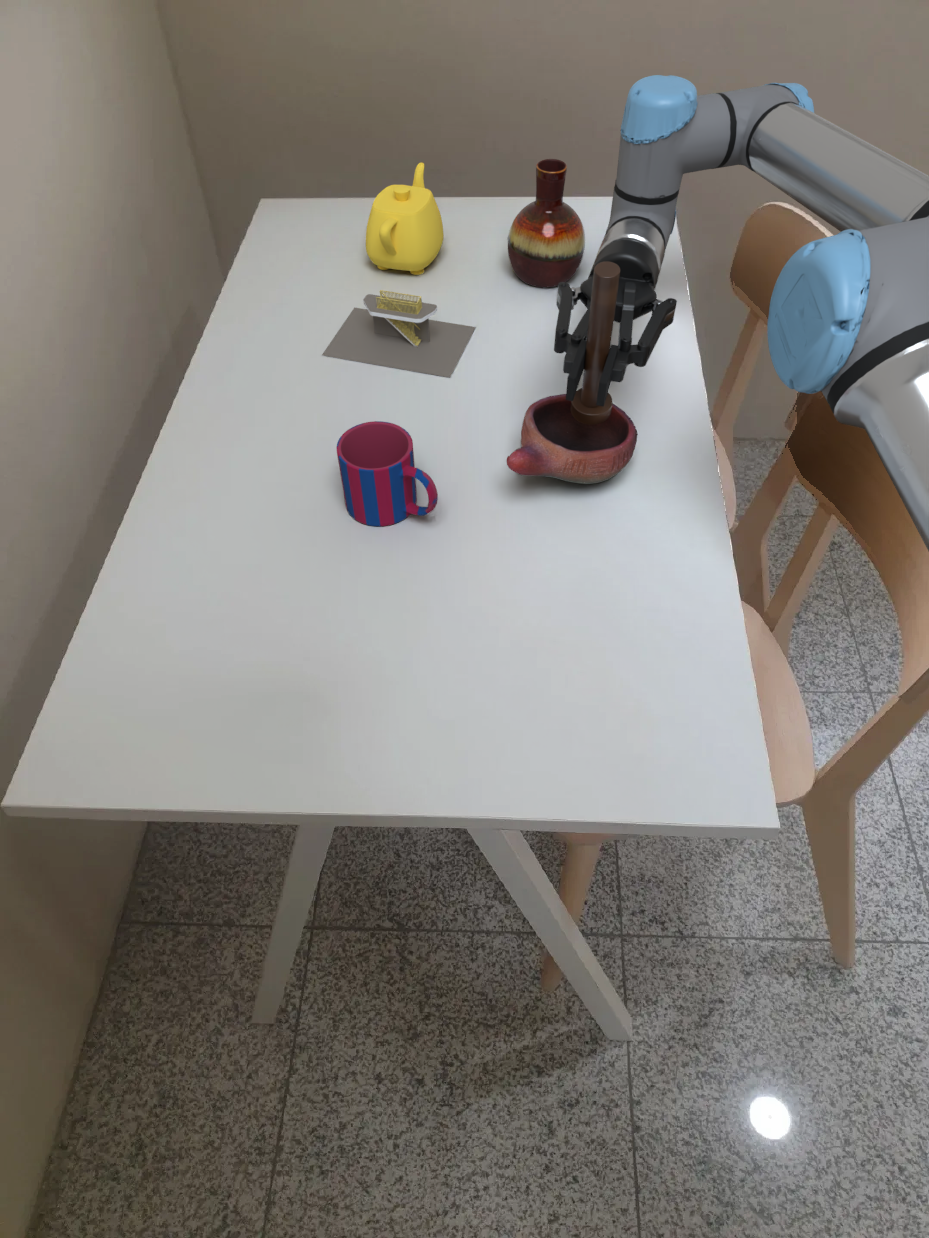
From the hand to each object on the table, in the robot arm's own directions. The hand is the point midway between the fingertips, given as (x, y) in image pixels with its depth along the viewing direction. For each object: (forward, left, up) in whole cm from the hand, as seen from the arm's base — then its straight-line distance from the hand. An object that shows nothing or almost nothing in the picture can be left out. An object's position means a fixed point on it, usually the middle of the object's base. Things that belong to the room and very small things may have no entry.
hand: (586, 391), depth 82 cm
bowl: (+1, -4, -15) cm, 16 cm away
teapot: (+35, -45, -15) cm, 59 cm away
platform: (+29, -25, -15) cm, 41 cm away
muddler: (0, -6, -7) cm, 9 cm away
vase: (+14, -46, -15) cm, 51 cm away
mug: (+19, +7, -15) cm, 25 cm away
